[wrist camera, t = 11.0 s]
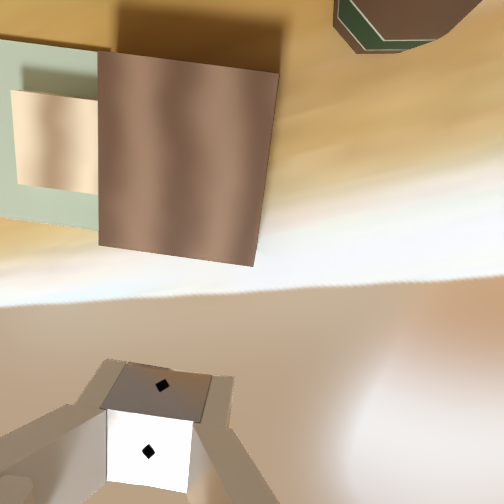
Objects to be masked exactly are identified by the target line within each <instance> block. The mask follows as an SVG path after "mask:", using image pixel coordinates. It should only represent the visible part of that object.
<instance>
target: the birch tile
mask: <svg viewBox="0 0 504 504" xmlns="http://www.w3.org/2000/svg"><path fill="white" fill-rule="evenodd" d="M10 92H11V104H12V117H13V130H14V142H15V155H16V168H17V180H18V184H21V185H29V186H36V187H44V188H51V189H59V190H66V191H74V192H81V193H89V194H96V195H98V99H91V98H83V97H75V96H67V95H59V94H52V93H44V92H36V91H28V90H10Z"/></svg>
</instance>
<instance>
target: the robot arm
mask: <svg viewBox="0 0 504 504" xmlns="http://www.w3.org/2000/svg"><path fill="white" fill-rule="evenodd" d="M234 383H235V378H234V377H232V376H223V375H208V374H201V373H194V372H187V371H180V370H173V369H169V368H163V367H157V366H151V365H144V364H139V363H133V362H126V361H120V360H113V359H106V360H104V361H103V362H102V364H101V365H100V367H99V368H98V369H97V371H96V372H95V374H94V375H93V377H92V378H91V380H90V381H89V383H88V384H87V386H86V387H85V388H84V390H83V391H82V393H81V394H80V396H79V397H78V399H77V400H76V402H75V403H74V405H69V404H66V405H64V406H62V407H60V408H58V409H56V410H54V411H52V412H50V413H48V414H46V415H44V416H42V417H40V418H38V419H36V420H34V421H32V422H30V423H28V424H26V425H24V426H22V427H20V428H18V429H16V430H14V431H12V432H10V433H8V434H6V435H4V436H2V437H0V504H82V503H83V502H84V501H85V500H86V499H88V498H89V497H90V496H91V495H92V494H94V493H95V492H96V491H97V490H98V489H99V488H101V487H102V486H103V485H104V484H105V483H106V480H109V481H118V482H127V483H134V484H143V485H149V486H155V487H160V488H166V489H171V490H177V491H183V492H186V496H187V498H188V501H189V504H280V503H279V501H278V500H277V498H276V497H275V495H274V493H273V492H272V490H271V489H270V487H269V486H268V484H267V482H266V481H265V479H264V477H263V476H262V474H261V473H260V471H259V470H258V468H257V466H256V464H255V463H254V461H253V460H252V458H251V456H250V455H249V453H248V452H247V450H246V448H245V447H244V445H243V444H242V442H241V440H240V439H239V437H238V436H237V434H236V432H235V431H234V429H231V428H229V423H230V414H231V407H232V399H233V392H234Z"/></svg>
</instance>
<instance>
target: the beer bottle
mask: <svg viewBox="0 0 504 504" xmlns="http://www.w3.org/2000/svg"><path fill="white" fill-rule="evenodd" d="M481 1H482V0H334V13H333V27H334V28H335V29H336V30H337V31H338V33H339V34H340V35H341V36H342V37H343V38H344V40H345V41H346V42H347V43H348V44H349V45H350V47H351V48H352V49H353V50H354V51H355V52H356V54H386V53H400V52H403V51H406V50H408V49H411V48H414V47H417V46H420V45H423V44H426V43H429V42H432V41H435V40H437V39H439V38H441V37H442V36H444V35H445V34H447V33H448V32H449V31H450V30H452V29H453V28H454V27H455V26H456V25H457V24H458V23H459V22H460V21H461V20H462V19H463V18H464V17H465V16H466V15H467V14H468V13H469V12H470V11H471V10H473V9H474V8H475V7H476V6H477V5H478V4H479V3H480V2H481Z"/></svg>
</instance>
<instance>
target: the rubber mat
mask: <svg viewBox="0 0 504 504" xmlns="http://www.w3.org/2000/svg"><path fill="white" fill-rule="evenodd" d="M10 90H28V91H36V92H44V93H52V94H59V95H67V96H75V97H83V98H91V99H98V79H97V52H94V51H87V50H79V49H71V48H63V47H56V46H48V45H40V44H32V43H25V42H17V41H9V40H1V39H0V217H2V218H9V219H16V220H24V221H31V222H38V223H45V224H52V225H59V226H67V227H74V228H81V229H88V230H95V231H99V219H98V195H96V194H89V193H81V192H74V191H66V190H59V189H51V188H44V187H36V186H29V185H21V184H18V180H17V168H16V155H15V142H14V130H13V117H12V104H11V92H10Z"/></svg>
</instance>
